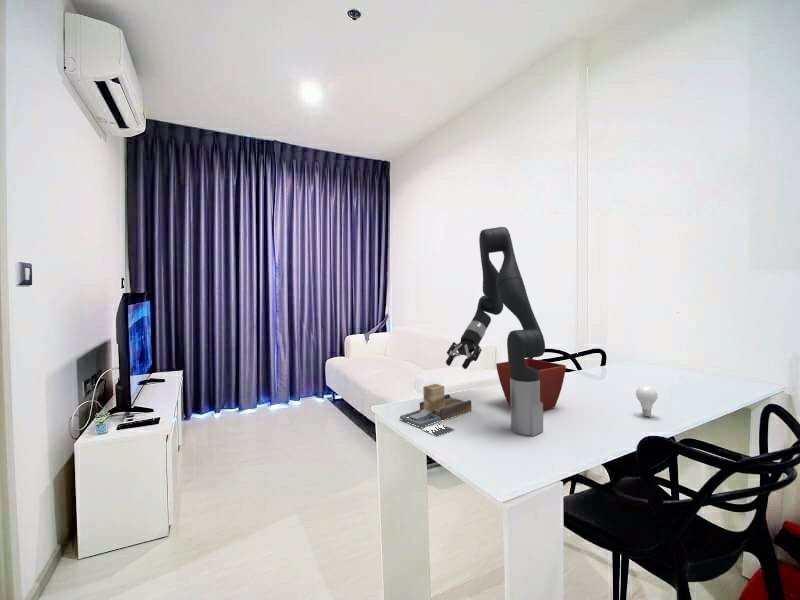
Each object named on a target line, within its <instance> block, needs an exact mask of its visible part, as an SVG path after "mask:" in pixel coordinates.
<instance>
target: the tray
mask: <svg viewBox="0 0 800 600" xmlns="http://www.w3.org/2000/svg"><path fill="white" fill-rule="evenodd" d="M421 411H422V410H420V409H418V410H415V411H412V412H408V413H406V414H405V413H404V414H402V415H399V420H400V419H402V420H404V421H406V422H409V423H411V424H414V425H416V426H419V427H423V426H425V425H428V424H431V423H434V422H437V421H440V420H441V417H440V416H437V415H434V414H433V415H432V416H431V417H429V418H428V419H427V420H424V421H421V422H417V421H415V420H412V419H410V418H407V417H409V416H411V415H414V414H418V413H419V412H421ZM404 421H403V422H404ZM406 422H405V423H406ZM440 422H441V421H440ZM409 423H408V424H409ZM437 423H438V422H437ZM411 424H410V425H411ZM434 424H435V423H434ZM414 425H413V426H414ZM431 425H432V424H431ZM416 426H415V427H416ZM428 426H429V425H428ZM423 428H424V427H423Z"/></svg>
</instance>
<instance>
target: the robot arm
mask: <svg viewBox="0 0 800 600" xmlns="http://www.w3.org/2000/svg"><path fill="white" fill-rule="evenodd" d="M479 233H480V234H479V239H478V243H479V253H480V261H481V269H482V293H483V295H482V296H480V298H479V299H478V304H477V307H476V312H475V313H474V316H473V317H472V320H471V321H470V323H469V324H468V325H467V327H466V328H465V330H464V332H463V333H462V335H461V337H460V342H458V343H456V342H455V341H454V342H452V344H451V345H450V347H448V349H447V351H446V354H447V356H448V357H447V359H446V360H445V364H446V366H449V367H450V366H451V365H452V363H453V361H454V360H455V359H456V357H461V356H466V358H465V359H464V362H463V363H462V364H461V367H462V368H463V369H464V370H467V368H469V366H470V364H471V363H472V362H473V361H474V362H477V361H478V359H479V357H480V354H481V352H482V347H480V343H481V342H482V339H483V338H484V336H485V333H486V331H487V329H488V327H489V325H491V323H492V317H491V316H490V314H492V315H494V316H498V315H500V314H502V311H503V310H504V306H505V308H507V310H509V311H510V312H511V313H512V314H513V315H514V317H516V319H517V320H518V321H519V324H520V325H521V327H522V329H516V330H510V331H509V333H508V335H507V339H506V348H507V349H506V350H507V362H508V365H509V371H510V398H511V406H510V430H511V431H512V432H514V433H515V434H519V435H523V436H531V437H535V436H537V435H539V434H541V433H543V432H544V410H543V403H542V402H540V373H539V371H538V370H537V369H535V368H532V367H528V366H527V365H526V364H525V359H533V358H540V357H542V356H543V355H544V353H545V351H546V341H545V339H544V335H543V333H542V330H541V328H540V325H539V323H538V321H537V318H536V316H535V313H534V310H533V309H532V305H531V303H530V300H529V297H528V293H527V290H526V286H525V284H524V280H523V276H522V274H521V271H520V269H519V265H518V262H517V258H516V255H515V252H514V251H515V250H514V246H513V241H512V238H511V234H510V231H509V229H508V227H505V226H499V227H489V228H484V229H482V230H481V231H480V232H479ZM499 252H502V254H503V261H502V264H501V267H500V268H499V270H498V269H497V268H496V267H495V265H494V264H493V263H492V261H491V259H490V254H493V253H499Z"/></svg>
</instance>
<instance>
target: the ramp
mask: <svg viewBox="0 0 800 600" xmlns="http://www.w3.org/2000/svg"><path fill="white" fill-rule="evenodd" d="M444 398H445V407H444V408H441V409H438V410H435V411H433V414H434V415H437V416H440V417H441V420H445V419H447V418H450V419H452V418H451V417H453V418H455V417H454V416H456V417H458V416H457V415H459V416H461V415H460V414H462V415H464V414H467V413H470V412H472V400H470V399H469V400H465V401H464V400H461V399H457V398H454V397H451V394H449V393H448V394H446V395H445V394H444ZM423 409H424V401H421V402H419V410H423ZM469 411H470V412H469ZM466 412H467V413H466ZM463 413H464V414H463ZM447 420H448V419H447ZM445 421H446V420H445Z"/></svg>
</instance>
